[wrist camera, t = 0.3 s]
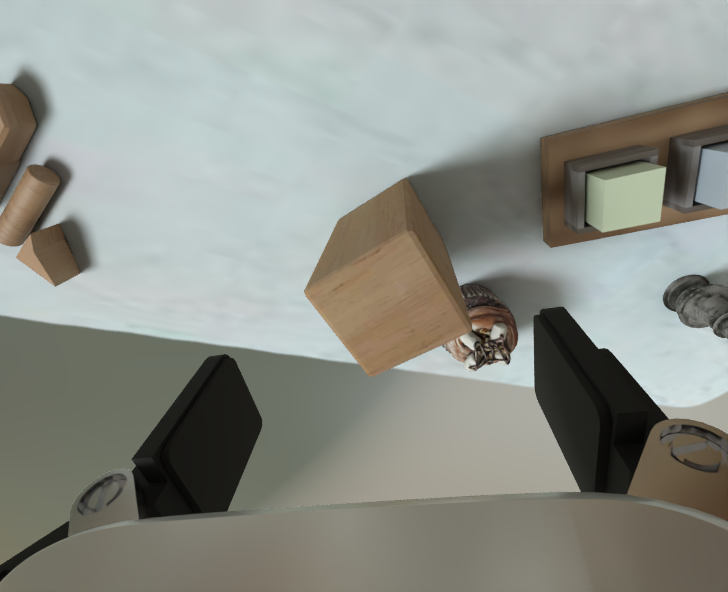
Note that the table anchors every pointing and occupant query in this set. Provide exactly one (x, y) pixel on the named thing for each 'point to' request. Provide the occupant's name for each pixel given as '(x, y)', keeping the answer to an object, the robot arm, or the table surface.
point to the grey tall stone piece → (699, 303)
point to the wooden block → (388, 282)
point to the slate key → (713, 176)
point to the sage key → (624, 196)
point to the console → (626, 145)
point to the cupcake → (484, 330)
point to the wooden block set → (29, 195)
